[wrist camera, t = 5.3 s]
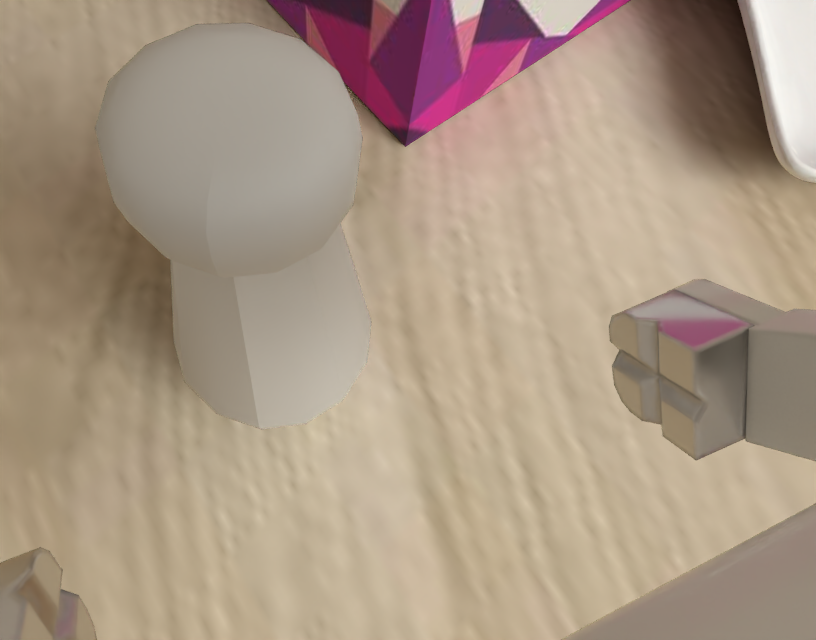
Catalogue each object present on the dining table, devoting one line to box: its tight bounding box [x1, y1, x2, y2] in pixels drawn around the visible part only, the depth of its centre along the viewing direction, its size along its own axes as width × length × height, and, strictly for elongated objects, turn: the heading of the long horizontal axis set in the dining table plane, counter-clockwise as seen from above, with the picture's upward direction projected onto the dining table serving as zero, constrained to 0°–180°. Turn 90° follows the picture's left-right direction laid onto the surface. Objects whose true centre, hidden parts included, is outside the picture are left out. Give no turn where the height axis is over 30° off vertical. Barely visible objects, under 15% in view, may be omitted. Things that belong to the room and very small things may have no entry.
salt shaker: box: [95, 23, 372, 429], centre depth 16 cm, size 6×6×13 cm
